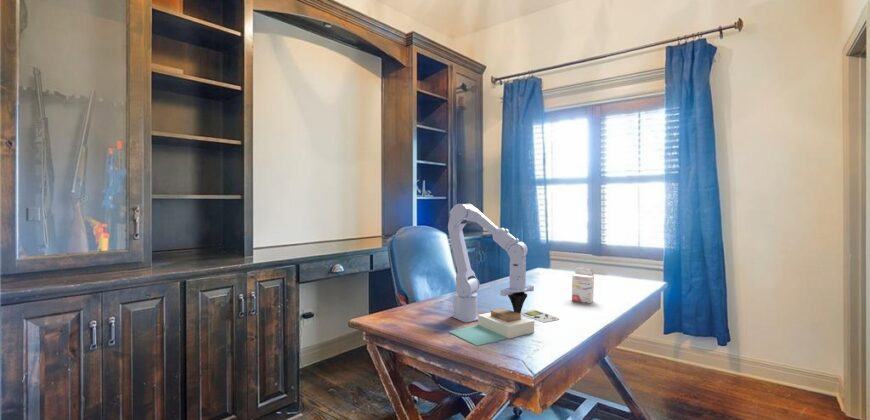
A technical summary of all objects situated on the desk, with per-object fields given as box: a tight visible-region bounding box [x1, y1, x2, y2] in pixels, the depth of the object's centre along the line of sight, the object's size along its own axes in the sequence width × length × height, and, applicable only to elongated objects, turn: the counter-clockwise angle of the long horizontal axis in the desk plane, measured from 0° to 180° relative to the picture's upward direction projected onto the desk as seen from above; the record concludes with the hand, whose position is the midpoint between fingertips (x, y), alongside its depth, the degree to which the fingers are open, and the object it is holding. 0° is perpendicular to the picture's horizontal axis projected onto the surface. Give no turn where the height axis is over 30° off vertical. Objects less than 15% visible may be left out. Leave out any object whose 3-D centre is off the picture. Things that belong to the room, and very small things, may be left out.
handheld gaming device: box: [520, 309, 560, 323], centre depth 162 cm, size 9×1×15 cm
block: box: [490, 307, 522, 322], centre depth 146 cm, size 9×6×2 cm, turn 32°
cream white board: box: [477, 311, 535, 340], centre depth 146 cm, size 16×12×4 cm
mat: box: [448, 324, 508, 347], centre depth 139 cm, size 16×13×1 cm
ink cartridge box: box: [571, 266, 595, 304], centre depth 185 cm, size 9×5×15 cm, turn 58°
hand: (517, 313), depth 149 cm, fingers closed
